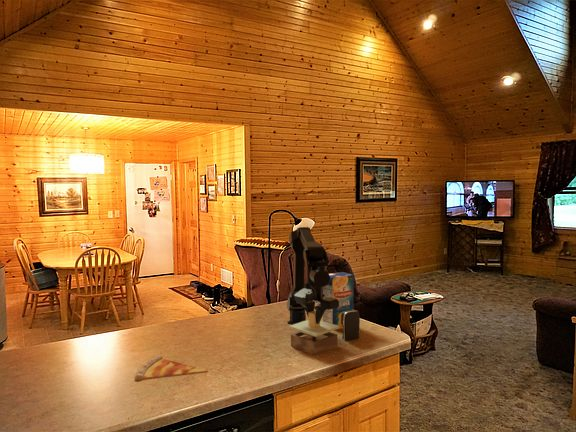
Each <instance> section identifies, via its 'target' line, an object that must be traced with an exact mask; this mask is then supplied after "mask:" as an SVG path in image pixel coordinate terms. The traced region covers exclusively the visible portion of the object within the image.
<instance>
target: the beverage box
mask: <svg viewBox="0 0 576 432" xmlns="http://www.w3.org/2000/svg"><path fill="white" fill-rule="evenodd" d="M329 275H330V281H329V283H328V284H327V285H326V286H324V287H322V294H325V297H322V299H325V298H329V297H331V298H336V299H338V301H339V307H336V308H333V309H330V310H327V309H326V310H325V312H324V314H323V316H322V321H324V322H328V323H331V324H334V325H338V326H339V329H341V330H343V325H342V324H341V314H342V312H343V311H347V310H354V288H355V287H354V284H355V283H354V282H355V281H354V280H355V277H354V276H355V275H354V274H352V273H348V272H344V271H339V272H334V273H329Z"/></svg>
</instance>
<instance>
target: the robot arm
mask: <svg viewBox="0 0 576 432" xmlns="http://www.w3.org/2000/svg"><path fill="white" fill-rule="evenodd" d="M288 242H289V246H290V248H291V249H292V251H293V286H292V287H291V289H290V290H289V296H288V298H287V299H286V300H287V301H286V308H287V310H288V311H289V320H288V321H287V323H288V324H290V325H293V324H297V323H300V322H303V321H306V320H307V319H306V318H307V317H306V316H308V315H309V312H312V311H316V324H319V322H320V320H321V321H322V319H323V314H324V312H325V310H326V309H327V310H330V309H333V308H336V307H339V301H338V299H336V298H331V297H329V298H325V299H323V297H325V294H323V287H324V286H326V285H327V284H328V283H329V281H330V275H329V274H330V273H329V272H328V271H327V270H325V267H329V262H330V260H329V257H328V253H327V250H326V248H325V247H324V245H322V244H321V243H320V242H317V241H316V239H315V238H314V236H313V234H312V232H311V228H310V227H309V226H300V227H296V229H295V230H293V231H291V232H290V233H289V236H288ZM305 266H306V282H305Z"/></svg>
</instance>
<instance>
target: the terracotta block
mask: <svg viewBox="0 0 576 432" xmlns="http://www.w3.org/2000/svg"><path fill="white" fill-rule="evenodd" d="M300 337H303V338H306V339H309V340H312V337H311V336H308V335H303V336H300Z"/></svg>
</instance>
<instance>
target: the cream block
mask: <svg viewBox="0 0 576 432" xmlns="http://www.w3.org/2000/svg"><path fill="white" fill-rule="evenodd" d="M326 337H328V336H325V335H320V336H317V337H316V341H319V340H321V339H324V338H326Z"/></svg>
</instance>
